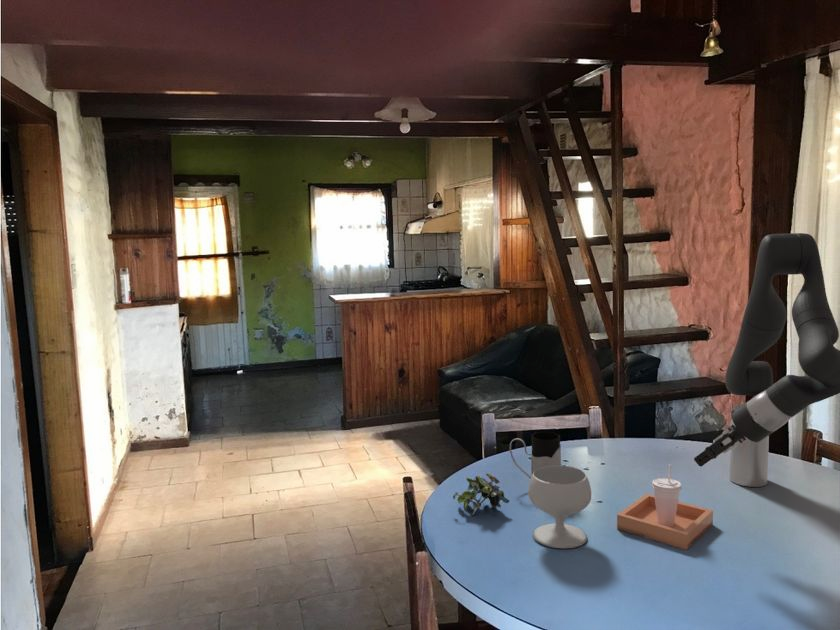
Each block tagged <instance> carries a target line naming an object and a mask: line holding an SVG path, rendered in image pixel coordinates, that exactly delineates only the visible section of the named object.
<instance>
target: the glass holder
mask: <svg viewBox="0 0 840 630" xmlns="http://www.w3.org/2000/svg"><path fill="white" fill-rule="evenodd" d="M515 441H520V442H521V443H522V445H523V446H524V452H525V455H528V456H530V458H531V459H530V461H531V462H530V464H531V465H530V466H531V468H530V469H531V475H530V474H529V473H527V472H526V471H525V470H524V469H523V468H522V467H521V466H520V465H519V464H518V463H517V462H516V460H515V458H514V456H513V451H512V443H513V442H515ZM561 451H562V444H561V436H560V435H559V434H558V433H556V432H552V431H538V432H534V433H532V434H531V453H530V452H527V444H526V443H525V441H524V440H523V439H522V438H518V437H517V438H513V439H512V440H511V441H510V443H509V453H510V454H509V455H510V457H511V459H512V461H513V464H514V465H515V466H516V467H517V468H518V469H519V470H520V471H521V472H523V473H524V475H526V476H527V477H528V478H529V480H530V479H531V476H532V474H533V473H534V471H535V470H536V469H538V468H541V467H544V466H551V465H561V466H562V463H561V462H562V461H561V460H562V456H561V455H562V453H561Z"/></svg>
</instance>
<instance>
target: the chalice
mask: <svg viewBox="0 0 840 630" xmlns="http://www.w3.org/2000/svg"><path fill="white" fill-rule="evenodd" d="M530 477H531V479H530V478H529V483H528V490H527V492H528V494H527V495H528V497H529V500H530V501H531V503H532V504H533V506H534V507H536V508H537V509H539V510H540V511H543V512H544V513H546V514H549V515H551V516H552V517H553V519H554V520H555V523H548V524H542V525H541V526H539V527H537V528H535V530H534V531H533V532H532V536H533V538H534V540H535V541H536V542H537V543H539V544H541V545H543V546H545V547H546V546H547V547H549V548H555V549H573V548H577V547H580V546H583V545H584V544H586V542H587V541H588V536H587V534H586V533H585V531H584V530H583V529H580V528H579V527H577V526H574V525H570V524H566V523H565V520H566V518H568V517H569V516H571V515H574V514H577V513H579V512H582V511H583V510H584V509H586V508H587V507H588V506H589V505H590V502H591V501H592V488H591V484H590V483H591V482H590V481H589V478H588V477H587V475H586V473H585V472H584V471H583V470H582V469H579V468H577V467H573V466H569V465H568V466H567V465H562V464H561V465H551V466H544V467H541V468H538V469H536V470H535V471H534V473H533V474H532V476H531V475H530Z"/></svg>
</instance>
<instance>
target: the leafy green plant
mask: <svg viewBox="0 0 840 630" xmlns="http://www.w3.org/2000/svg"><path fill="white" fill-rule="evenodd" d="M485 475H486V476H487V477H488V479H489V480H491V481H488V480H487V479H485V478H484V477H481V476H479V475H476V476H475V477H473V479H472V478H469V477H468V476H466V477H465V478H466V479H465V480H466V482H468V483H469V485H468V487H467V490H465V491H463V492H462V494H459V493H458V492H456V491H455V492H454V494H453V496H452V499H453V500H457V502H458V504H461V503H462V502H463V505H464V511H467V510H468V509H467V508H468V506H469V504H470V503H472V508H473V512H472V514H471V517H474V514H475V513H476V511H477V510H479V508H480V507H481V505H482V504H483V502H484V501H485V500H486V499H488V501H489V503H490V505H491V507H493V508H496V507H498V508H501V507H502V506H501V504H500V502H501V501H503V502H504V503H505V504H509V503H510V499H508V498H507V497H505V493H504V491H503V490H500V488H501V486H499V485H496V484H500V483H501V481H500V480H499V479H498V478H497V477H496V476H493V475H492V474H490V473H486V474H485ZM493 482H494V483H495V484H493ZM472 489H473V490H472ZM470 490H472V491H470ZM478 494H481V495H480V498H479V499H477V497H476V496H477V495H478ZM457 496H458V497H457ZM456 497H457V499H456ZM482 498H483V499H482ZM481 499H482V500H481Z"/></svg>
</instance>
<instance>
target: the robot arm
mask: <svg viewBox="0 0 840 630" xmlns="http://www.w3.org/2000/svg"><path fill="white" fill-rule="evenodd" d="M778 275H782V276H784V275H785V276H786V275H801V276H802V277H803V279H804V280H803V284H802V286H801V289H800V290H799V292H798V294H797V296H796V297H795V299H794V301H793V304H792V308H791V318H792V322H793V325H794V327H795V332H796V334H797V337H798V344H797V345H798V351H797V353H798V354H797V355H798V356H797V359H798V363H799V365H800V368H801V370H802V371H803V372H804V373H805V375H803V376H802V375H801V376H800V375H795V374H787V375H785V376H783V377H782V378H780V379H779V380H777V381H776V382H775V383H774V375H773V374H774V372H773V368H772V365H770V363H769V362H768V361H765V360H762V361H761V360H755V359H756V358H757V357H759V356H760V355H762V354H763V353H764V352H766V351H768V349H770V348H771V347H772V346H774V345H775V344H776V343H777V342H778V341H779V339H780V338H781V336H782V334H783V332H784V329H785V324H786V322H787V319H788V317H787V316H788V312H787V309H786V305H785V304H784V302H783V301H782V298H780V295H779V294H778V292H777V291H776V289H775V287H774V285H773V279H774V277H775V276H778ZM745 306H746V307H745V309H744V313H743V317H742V321H741V325H740V330H739V334H738V338H737V342H736V345H735V346H734V350H733V352H732V353H731V354H732V355H731V357H730V360H729V362H728V364H727V367H726V370H725V371H726V372H725V379H724V380H725V381H724V382H725V383H724V384H725V387H726V389H727V391H728V392H729V393H730V394H731V395H735V396H751V397H752V396H753V397H752V398H751V399H750V400H748V401H746V402H744V403H740V404H738V405H735V406H733V407H732V409H731V412H730V413H731V414H730V426H729V427H727V428H726V429H724V430H723V432H722V433H721V434H720V435H718V436H717V437H716V438H715V439H713V441H712V442H713V443H711V445H709V446H706V447H705V449H704V450H703V451H702V452H701V453H699V454H698V455H696V456H694V458H693V461H694V462H695V463H696V464H697V466H699V467H702V466H705V465H706V464H707V463H708V462H710V461H711V460H715V459H717V458H718V456H720V455H721V454H726V453H728V452H730V453H729V455H730V456H729V480H730V481H731V482H732V483H733V484H736V485H738V486H739V485H740V486H743V487H751V488H759V487H764V486H767V484H768V476H769V475H768V472H769V450H770V449H769V446H770V445H769V443H770V441H769V440H770V439H769V438H770V435H772V434H773V433H774V432H775V431H777V430H778V429H780V428H782V427H783V426H784V425H785V424H787V422H788V423H789V421H790V420H791V419H792V418H793V417H795V416H796V415H798V414H799V413H801V412H802V411H803V410H805V409H806V408H807V407H809V406H810V405H812V404H815V403H819V402H821V401H824V400H826V399H829V398H831V397H834V396H837V395H839V394H840V350H839V349H838V348H836V347H835V346H834V345H835V344H836V343H837V342H838V340H839V337H840V332H839V328H838V325H837V323H836V320H835V318H834V314H833V312H832V310H831V307H830V304H829V300H828V296H827V292H826V285H825V279H824V273H823V268H822V261H821V255H820V250H819V247H818V244H817V242H816V240H815V238H814V237H813V235H811V234H809V233H802V232H801V233H799V232H795V233H790V232H789V233H771V234H767V235H765V236H764V237H763V238H762V240H761V242H760V245H759V247H758V252H757V257H756V263H755V269H754V274H753V281H752V284H751V290H750V293H749V297H748V301H747V303H746V305H745Z"/></svg>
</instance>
